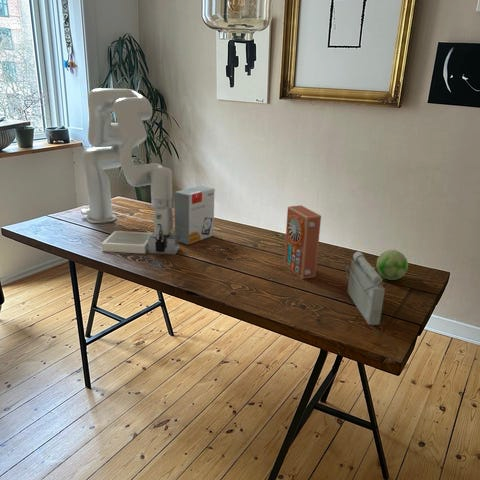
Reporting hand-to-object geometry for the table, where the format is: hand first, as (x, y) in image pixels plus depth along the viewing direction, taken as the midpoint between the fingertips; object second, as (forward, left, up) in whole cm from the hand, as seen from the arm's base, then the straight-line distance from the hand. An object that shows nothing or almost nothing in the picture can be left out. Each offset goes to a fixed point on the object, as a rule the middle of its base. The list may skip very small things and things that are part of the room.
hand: (163, 246), depth 169 cm
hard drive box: (+9, +15, -2) cm, 18 cm away
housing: (0, 0, -2) cm, 2 cm away
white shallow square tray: (-14, +3, -2) cm, 14 cm away
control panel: (+50, -11, -2) cm, 51 cm away
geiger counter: (+66, -32, -2) cm, 74 cm away
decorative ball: (+80, -13, -2) cm, 81 cm away
